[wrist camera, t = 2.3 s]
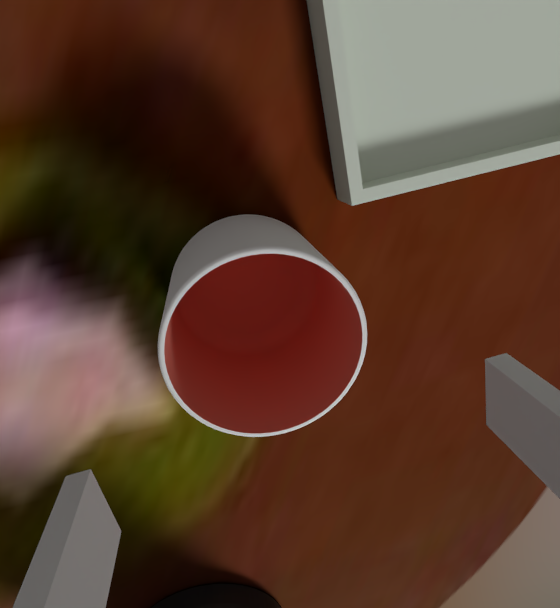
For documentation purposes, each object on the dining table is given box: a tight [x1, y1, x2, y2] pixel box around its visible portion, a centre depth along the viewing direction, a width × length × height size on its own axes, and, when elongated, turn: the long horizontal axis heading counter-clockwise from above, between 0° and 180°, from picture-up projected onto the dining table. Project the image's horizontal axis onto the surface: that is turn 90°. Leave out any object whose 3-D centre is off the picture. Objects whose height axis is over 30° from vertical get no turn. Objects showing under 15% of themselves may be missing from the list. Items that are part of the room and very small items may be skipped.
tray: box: [306, 0, 560, 206], centre depth 24 cm, size 18×18×3 cm
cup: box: [158, 214, 367, 437], centre depth 25 cm, size 10×10×10 cm
